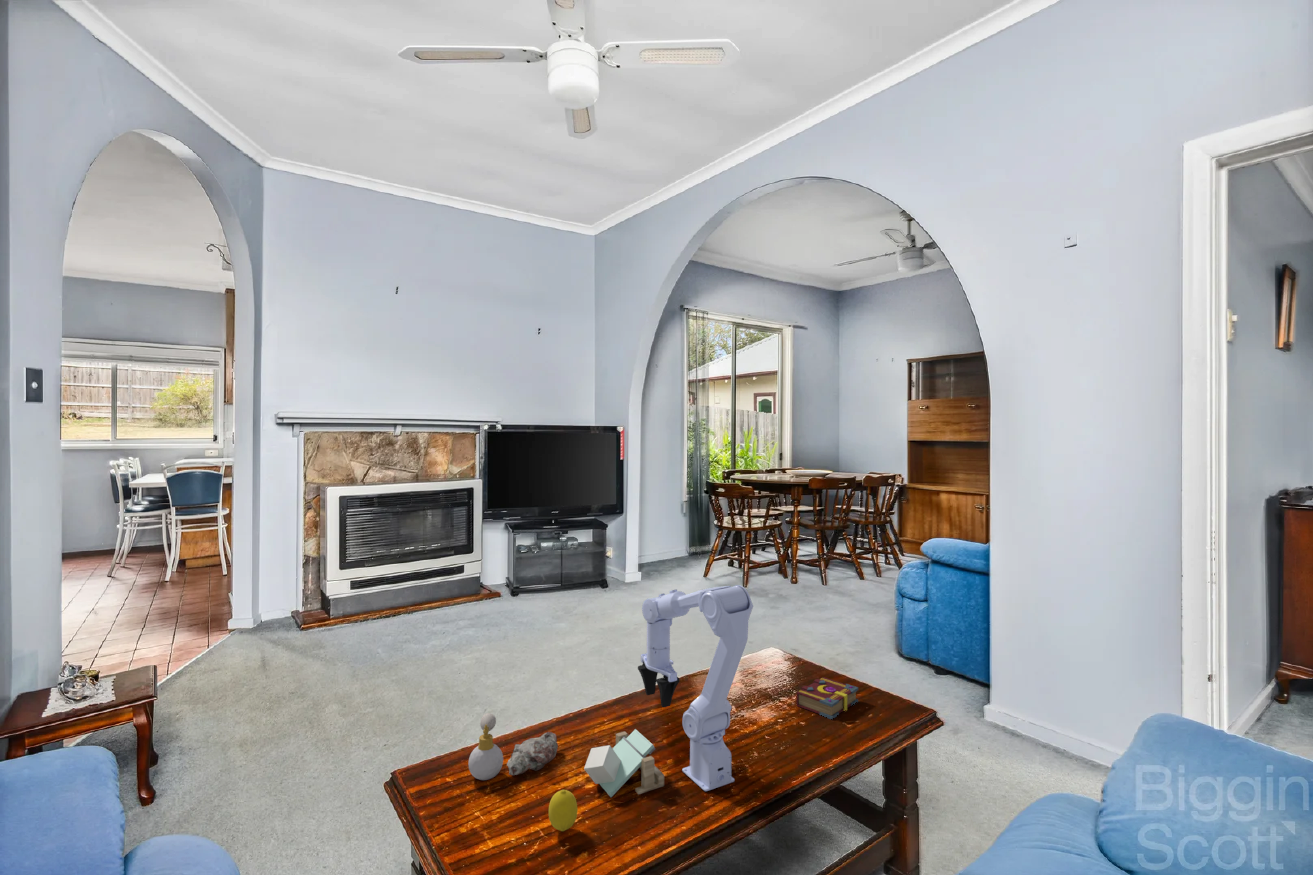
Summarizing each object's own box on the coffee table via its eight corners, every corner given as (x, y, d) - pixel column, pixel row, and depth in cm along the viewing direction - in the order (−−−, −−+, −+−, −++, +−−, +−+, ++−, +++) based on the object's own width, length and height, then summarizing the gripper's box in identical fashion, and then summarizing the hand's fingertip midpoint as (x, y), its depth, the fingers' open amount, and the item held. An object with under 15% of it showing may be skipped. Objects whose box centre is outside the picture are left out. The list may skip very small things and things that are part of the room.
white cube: (621, 760, 138) (609, 745, 136) (614, 781, 134) (602, 765, 132) (602, 763, 140) (591, 748, 138) (595, 783, 136) (583, 768, 134)
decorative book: (795, 707, 174) (795, 689, 174) (824, 689, 186) (824, 673, 186) (832, 720, 166) (832, 702, 166) (860, 701, 178) (860, 684, 178)
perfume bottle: (473, 789, 134) (473, 734, 133) (461, 768, 142) (461, 716, 142) (507, 779, 138) (507, 725, 137) (494, 759, 146) (494, 708, 146)
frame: (664, 785, 136) (664, 755, 136) (638, 794, 132) (638, 763, 132) (634, 756, 148) (634, 728, 147) (609, 763, 144) (609, 735, 144)
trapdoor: (660, 753, 137) (655, 746, 136) (614, 802, 131) (609, 795, 131) (637, 732, 146) (633, 726, 145) (593, 777, 141) (588, 771, 140)
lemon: (578, 821, 123) (578, 781, 123) (575, 840, 118) (575, 798, 118) (550, 821, 123) (550, 781, 123) (546, 840, 118) (546, 798, 118)
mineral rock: (515, 783, 136) (515, 763, 136) (496, 768, 142) (496, 749, 142) (570, 759, 147) (570, 740, 147) (550, 746, 152) (550, 728, 152)
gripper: (688, 651, 150) (687, 707, 150) (657, 634, 162) (657, 685, 162) (662, 657, 146) (662, 714, 146) (633, 638, 159) (633, 691, 159)
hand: (658, 699), depth 154 cm, fingers open, 7 cm apart
